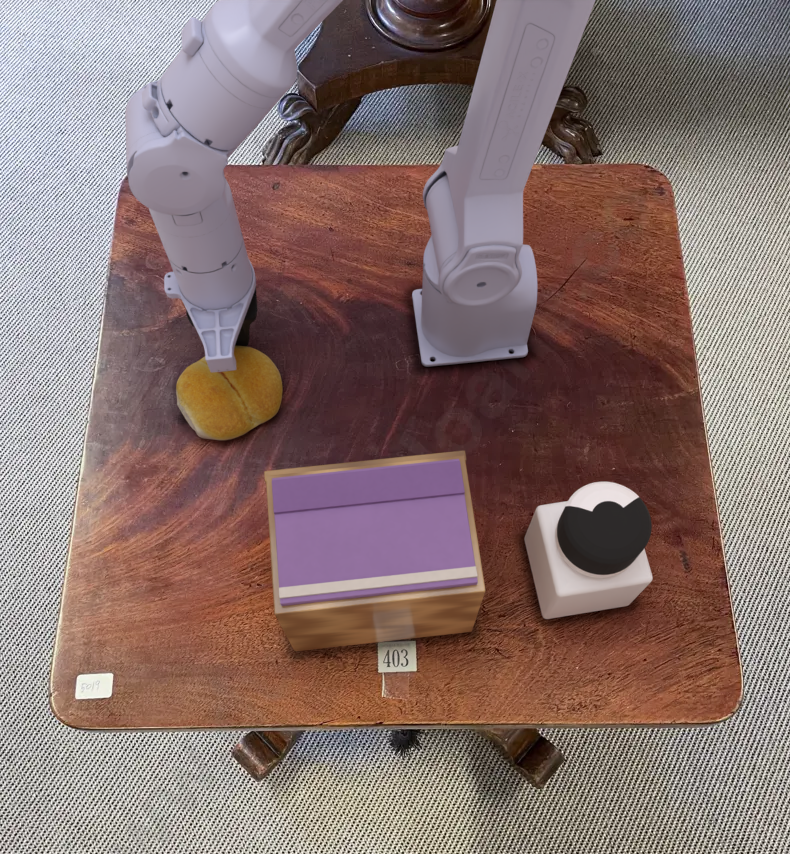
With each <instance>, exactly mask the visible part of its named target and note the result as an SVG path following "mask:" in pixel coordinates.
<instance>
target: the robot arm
mask: <svg viewBox="0 0 790 854" xmlns="http://www.w3.org/2000/svg"><path fill="white" fill-rule="evenodd" d="M343 1H344V0H217V1H215V3H214V4H213V5H212V6H211V8H210V9H209V10H208V12H207V13H206V15H205V16H204V17H203V19H202V20H200V19H198V18H197V17H196V16H195V17H194V16H191V17H190V18H189V20H188V21H187V22H186V23H185V25H184V26H183V28H182V29H181V32H180V34H181V49H180V50H179V52H178V53H177V55H176V56H175V58H174V59H173V60H172V61H171V63H170V64H169V65H168V67H167V68H166V69H165V71H164V73H163V74H162V75H161V76H160V78H159V79H157V80H154V81H150V82H147V84H145V85H143V86H142V87H140V89H138V90H136V91H135V92H134V93H133V95H131V97H130V98H129V100H128V101H127V103H126V107H125V113H124V119H125V156H126V158H125V159H126V162H125V163H126V176H127V182H128V186H129V190H130V192H131V193H132V195H133V197H134V198H135V199H136V200H137V201H138V202H139V203H140V204H142V205H143V206H145V207H146V208H148V210H149V213H150V216H151V219H152V221H153V224H154V226H155V229H156V231H157V234H158V236H159V239H160V242H161V244H162V246H163V249H164V252H165V254H166V256H167V259H168V261H169V264H170V267H171V269H172V271H169V272H166V273H165V275H164V277H163V288H164V292H165V295H166V297H167V298H169V299H179V300H181V302H182V304H183V305H184V308H185V314H186V317H187V320H188V322H189V323H190V325H191V326H192V327H194V329H195V330H196V332H197V334H198V337H199V339H200V341H201V343H202V345H203V350H204V357H205V359H206V362H207V364H208V367H209V369H210V372H224V371H233V370H236V359H235V356H234V348H235V346H246V347H249V343H250V328H251V325H252V324H253V322H255V321H256V320H257V315H258V297H257V295H258V294H257V277H256V273H255V269H254V266H253V264H252V262H251V260H250V257H249V255H248V251H247V247H246V243H245V239H244V236H243V233H242V232H243V231H242V228H241V225H240V221H239V216H238V213H237V209H236V204H235V201H234V198H233V197H234V196H233V193H232V189H231V187H230V184H229V182H228V180H227V179H226V176H225V168H226V167H227V165H229V159H228V158H230V157H231V155H233V153H234V152H236V150H237V149H238V148H239V147H240V146H241V144H242V143H243V142H244V141H246V139H247V137H249V135H250V134H251V133H252V132H253V131H254V130H255V129H256V127H257V126H259V124H260V123H261V122H262V121H263V119H264V118H265V117H266V116H267V115H268V114H269V113H270V111H272V109H273V108H274V107H275V106H276V105H277V103H279V101H280V100H281V99H282V98H283V97H284V96H285V94H286V93H287V92H288V91H289V90H290V89H291V88H292V87H293V85H294V84H295V82H296V81H297V80H296V79H297V77H298V76H297V75H298V61H297V56H296V48H297V47H299V45H301V43H302V42H304V40H306V39H307V37H309V35H311V33H312V32H313V31H314V30H315V29H316V28H317V27H318V26H319V25H320V24H321V23H322V22H323V21H324V20H325V19H326V18H327V17H328V16H329V15H330V14H331V13H332V12H333V11H334V10H335V9H336V8H337V7H338V6H339V5H340V4H341V3H342V2H343ZM595 3H596V0H496V1H495V4H494V5H495V6H494V8H493V13H492V17H491V20H490V24H489V28H488V32H487V34H486V35H487V36H486V39H485V43H484V46H483V50H482V53H481V57H480V62H479V66H478V69H477V73H476V77H475V80H474V84H473V88H472V92H471V96H470V98H469V99H470V100H469V104H468V107H467V111H466V115H465V119H464V122H463V126H462V130H461V133H460V138H459V141H458V144H457V145H454V146H450V147H447V148H446V149H445V150H444V154H443V157H442V161H441V163H440V164H439V167H438V168H437V169H436V171H434V172H433V173H432V175H430V177H429V178H428V179H427V180H426V182H425V184H424V187H423V189H422V190H423V191H422V201H423V206H424V208H425V209H426V212H427V218H428V223H429V229H430V234H431V235H430V237H429V239H428V241H427V243H426V246H425V249H424V251H423V260H422V263H423V264H422V285H421V288H417V289H414V290H413V291H412V292H411V293H412V294H411V299H412V306H413V312H414V321H415V327H416V333H417V341H418V347H419V348H418V349H419V354H420V355H419V356H420V363H421V365H422V366H423V367H425V368H429V367H438V366H449V365H458V364H468V363H469V364H470V363H479V362H487V361H489V362H490V361H499V360H509V359H520V358H524V357H526V356H528V352H529V349H528V340H529V337H530V332H531V330H532V329H531V328H532V325H533V321H534V316H535V313H536V309H537V303H538V271H537V265H536V260H535V255H534V251H533V248H532V247H531V245H530V244H524V190H525V188H526V184H527V182H528V179H529V177H530V175H531V171H532V170H533V166H534V164H535V161H536V159H537V156H538V153H539V150H540V148H541V145H542V142H543V140H544V137H545V135H546V132H547V130H548V127H549V124H550V121H551V119H552V116H553V114H554V111H555V108H556V105H557V103H558V101H559V98H560V95H561V92H562V90H563V88H564V85H565V82H566V79H567V76H568V74H569V71H570V69H571V66H572V63H573V61H574V59H575V56H576V53H577V51H578V48H579V45H580V42H581V40H582V37H583V34H584V32H585V29H586V27H587V24H588V21H589V18H590V16H591V13H592V11H593V8H594V6H595ZM510 352H512V353H510ZM431 360H434V361H431Z"/></svg>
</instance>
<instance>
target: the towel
mask: <svg viewBox="0 0 790 854" xmlns="http://www.w3.org/2000/svg"><path fill="white" fill-rule="evenodd" d="M272 493H273V509H274V515H275V531H276V546H277V561H278V577H279V598H280V604H281V606H287V605H296V604H305V603H314V602H323V601H333V600H342V599H351V598H360V597H369V596H378V595H387V594H397V593H406V592H415V591H424V590H433V589H442V588H451V587H460V586H470V585H477V583H478V579H477V570H476V566H475V560H474V553H473V547H472V540H471V534H470V527H469V521H468V514H467V508H466V501H465V490H464V484H463V477H462V471H461V464H460V461H459V459H452V460H443V461H433V462H423V463H414V464H404V465H395V466H385V467H375V468H366V469H356V470H347V471H337V472H327V473H318V474H308V475H299V476H289V477H279V478H272Z"/></svg>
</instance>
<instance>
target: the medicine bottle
mask: <svg viewBox="0 0 790 854" xmlns="http://www.w3.org/2000/svg"><path fill="white" fill-rule="evenodd" d="M642 499H643V498H641V497H640V496H639V495H638V494H637V493H636V492H635V491H633V490H632V489H631V488H628V487H626V485H623V484H619V483H617V482H613V481H595V482H591V483H588V484H586V485H583V486H581V487H580V488H578V489H577V490H576V491H574V492H573V494H571V496H570V497H569V499H568V500H567V501H565V500H564V501H560V502H559V501H557V502H553V503H552V502H551V503H547V504H540V505H538V506H536V508H535V510H534V513H533V515H532V518H531V521H530V522H529V525H528V527H527V530H526V533H525V535H524V544H525V548H526V553H527V558H528V562H529V565H530V569H531V574H532V578H533V583H534V587H535V591H536V596H537V599H538V605H539V608H540V613H541V616H542V619H544V620H552V619H556V618H557V619H558V618H563V617H569V616H575V615H581V614H586V613H593V612H598V611H605V610H611V609H612V610H613V609H618V608H623V607H628V606H630V605H631V604H632V603H633V602H634V600H635V599H636V598H637V597H638V596H639V595H640V594H641V593H642V592H643V591H644V590H645V589H646V588H647V587H648V586H649V585H650V584H651V583H652V581H653V578H654V577H653V573H652V569H651V567H650V566H651V565H650V563H649V559H648V556H647V553H646V549H645V548H646V547H647V545H648V544H649V542H650V538H651V535H652V530H653V528H652V527H653V526H652V523H653V522H652V517H651V514H650V510H649V509H648V507H647V505H646V504H645V502H644V500H642Z"/></svg>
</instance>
